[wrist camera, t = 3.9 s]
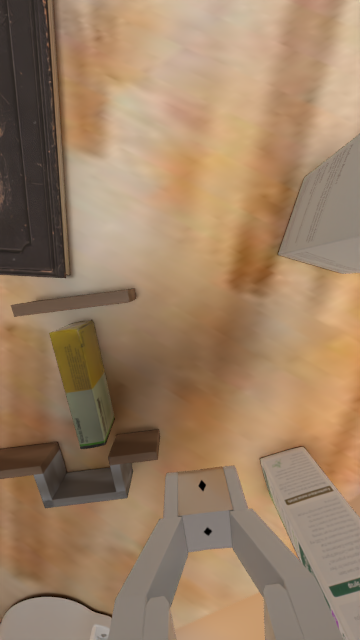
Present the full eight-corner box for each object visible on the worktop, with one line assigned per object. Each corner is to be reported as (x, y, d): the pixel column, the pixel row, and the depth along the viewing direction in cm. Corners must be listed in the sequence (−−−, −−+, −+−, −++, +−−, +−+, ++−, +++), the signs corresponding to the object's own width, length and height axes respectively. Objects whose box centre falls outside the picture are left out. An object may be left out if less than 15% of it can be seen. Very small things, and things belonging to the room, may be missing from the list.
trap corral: (165, 467, 24) (163, 493, 21) (-20, 490, 24) (-46, 519, 21) (134, 288, 20) (127, 290, 17) (-94, 317, 20) (-141, 324, 17)
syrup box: (257, 457, 24) (375, 711, 10) (304, 443, 24) (492, 684, 10) (268, 492, 25) (386, 762, 11) (312, 479, 25) (491, 740, 11)
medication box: (117, 418, 23) (106, 447, 19) (94, 422, 23) (78, 451, 19) (95, 318, 20) (77, 328, 16) (68, 322, 20) (44, 332, 16)
